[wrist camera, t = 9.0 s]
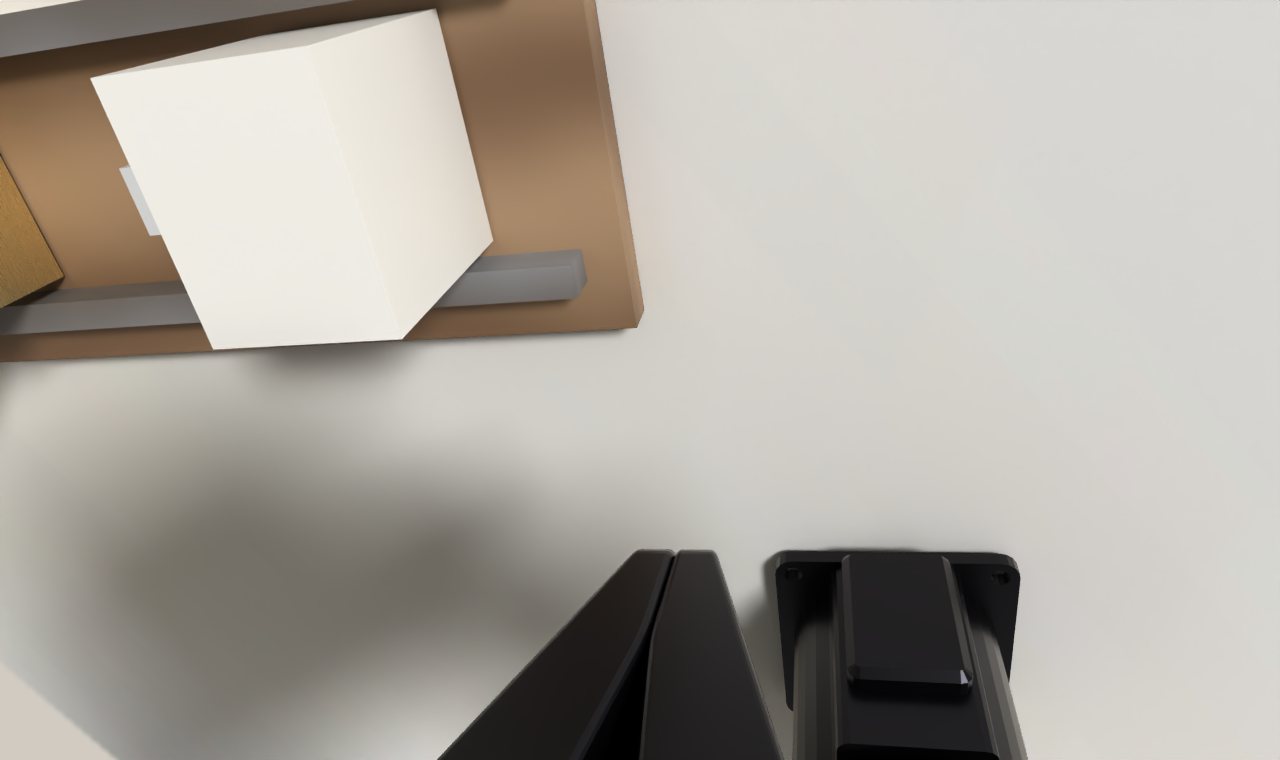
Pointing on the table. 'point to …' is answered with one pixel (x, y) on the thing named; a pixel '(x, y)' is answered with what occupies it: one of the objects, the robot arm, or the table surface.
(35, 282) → the brushed brass plate
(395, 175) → the ivory matte cube
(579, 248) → the base
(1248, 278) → the table surface
